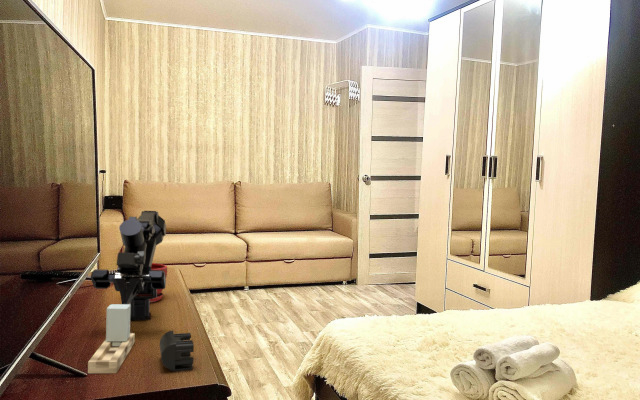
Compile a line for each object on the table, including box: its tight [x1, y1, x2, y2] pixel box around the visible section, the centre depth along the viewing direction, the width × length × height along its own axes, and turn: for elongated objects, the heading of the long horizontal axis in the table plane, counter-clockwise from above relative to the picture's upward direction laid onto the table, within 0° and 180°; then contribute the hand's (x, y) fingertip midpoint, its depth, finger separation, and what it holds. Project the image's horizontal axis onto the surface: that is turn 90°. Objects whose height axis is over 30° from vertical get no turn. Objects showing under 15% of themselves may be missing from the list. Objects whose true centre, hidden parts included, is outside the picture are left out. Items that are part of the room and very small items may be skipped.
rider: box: [105, 303, 131, 346], centre depth 132 cm, size 4×5×10 cm
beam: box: [87, 332, 136, 374], centre depth 127 cm, size 20×6×3 cm, turn 8°
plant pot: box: [150, 262, 168, 303], centre depth 180 cm, size 13×13×12 cm
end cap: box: [159, 329, 195, 373], centre depth 125 cm, size 10×7×7 cm
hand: (124, 307), depth 138 cm, fingers closed
